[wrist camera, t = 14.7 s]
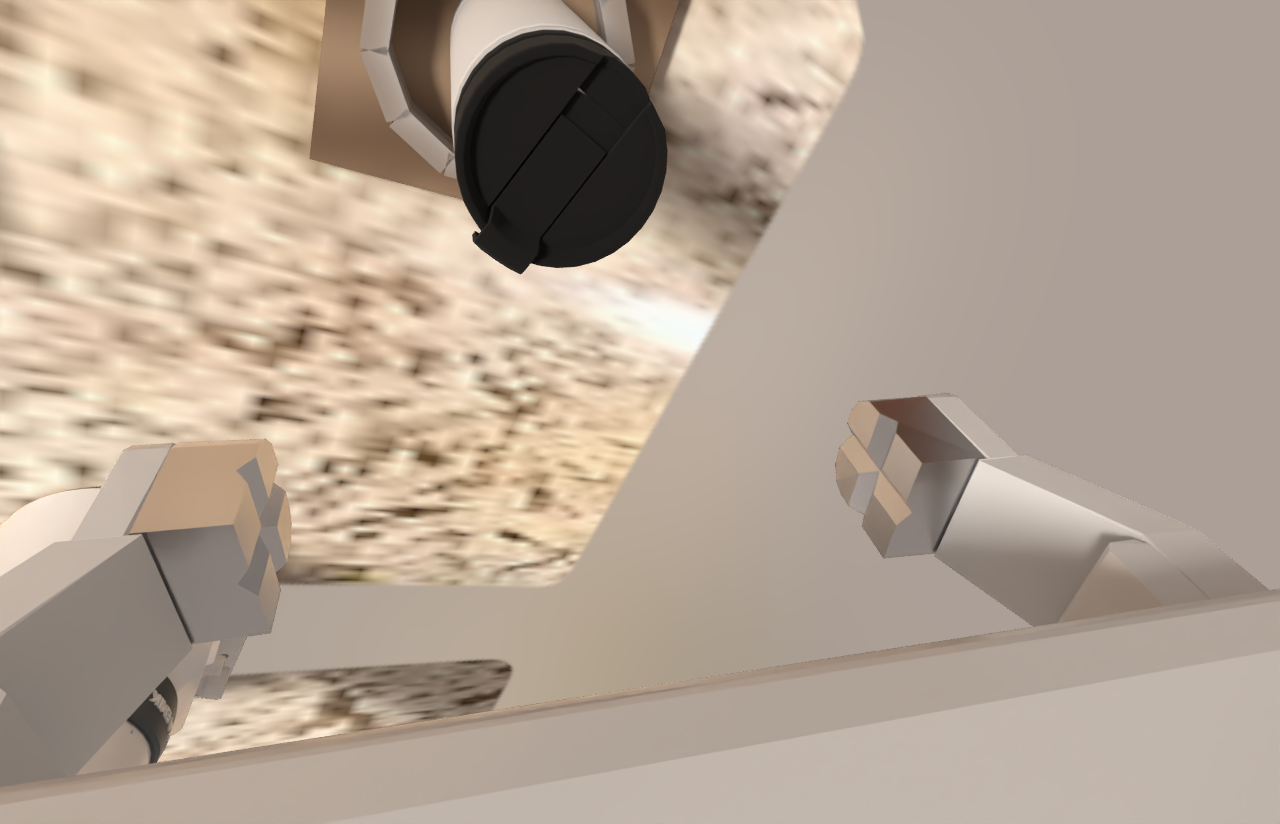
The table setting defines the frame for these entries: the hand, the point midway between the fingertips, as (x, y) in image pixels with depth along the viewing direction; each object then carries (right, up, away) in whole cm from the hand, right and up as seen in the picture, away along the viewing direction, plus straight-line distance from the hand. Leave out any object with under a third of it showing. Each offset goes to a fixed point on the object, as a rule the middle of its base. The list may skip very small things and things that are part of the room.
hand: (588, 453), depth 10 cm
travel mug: (-6, +19, +26) cm, 32 cm away
